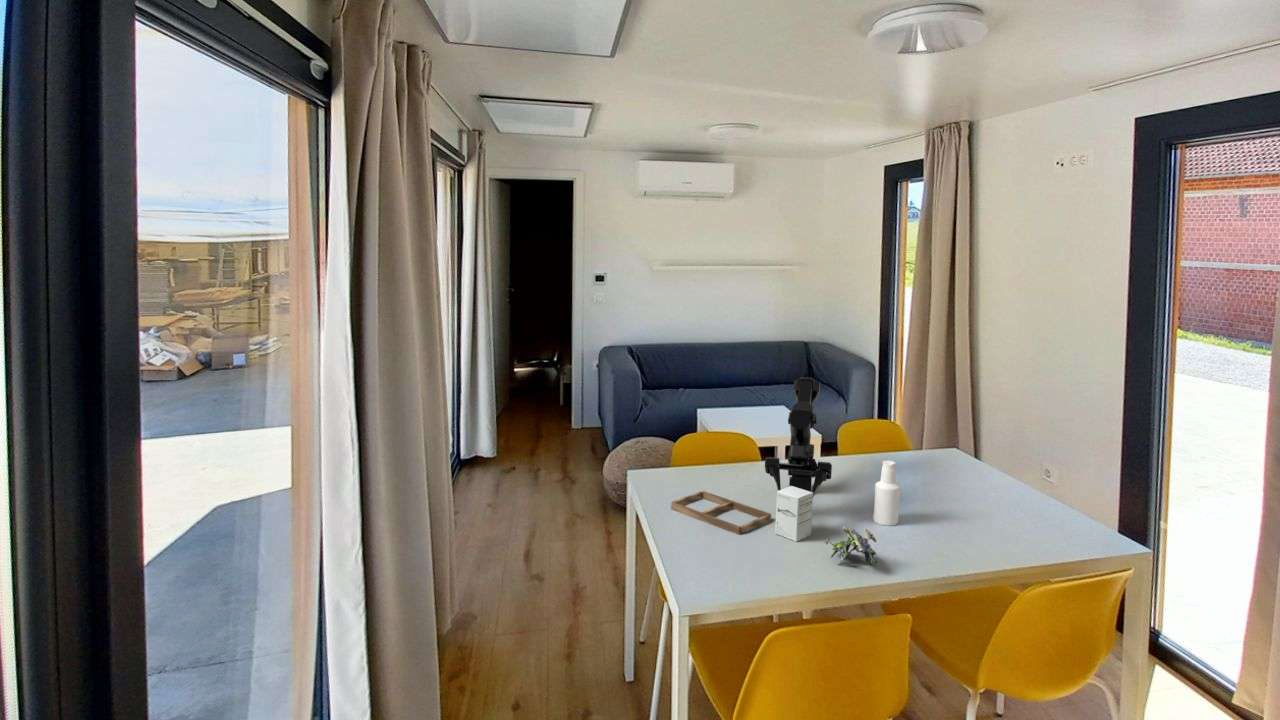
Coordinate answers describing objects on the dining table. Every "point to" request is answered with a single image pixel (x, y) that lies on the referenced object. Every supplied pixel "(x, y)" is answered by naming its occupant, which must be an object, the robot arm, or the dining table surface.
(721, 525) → the wooden compartment frame
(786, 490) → the supplement box
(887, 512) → the spray bottle
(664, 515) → the dining table surface
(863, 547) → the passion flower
